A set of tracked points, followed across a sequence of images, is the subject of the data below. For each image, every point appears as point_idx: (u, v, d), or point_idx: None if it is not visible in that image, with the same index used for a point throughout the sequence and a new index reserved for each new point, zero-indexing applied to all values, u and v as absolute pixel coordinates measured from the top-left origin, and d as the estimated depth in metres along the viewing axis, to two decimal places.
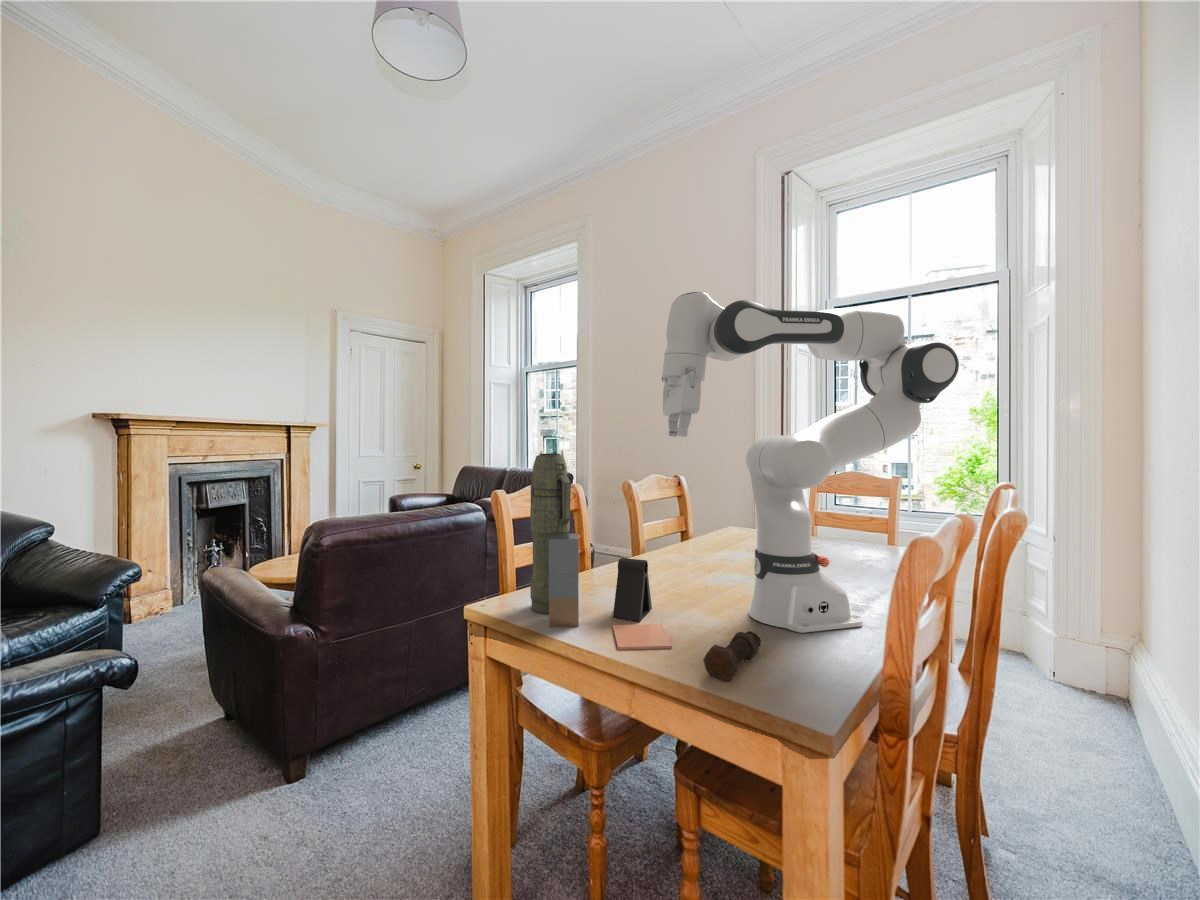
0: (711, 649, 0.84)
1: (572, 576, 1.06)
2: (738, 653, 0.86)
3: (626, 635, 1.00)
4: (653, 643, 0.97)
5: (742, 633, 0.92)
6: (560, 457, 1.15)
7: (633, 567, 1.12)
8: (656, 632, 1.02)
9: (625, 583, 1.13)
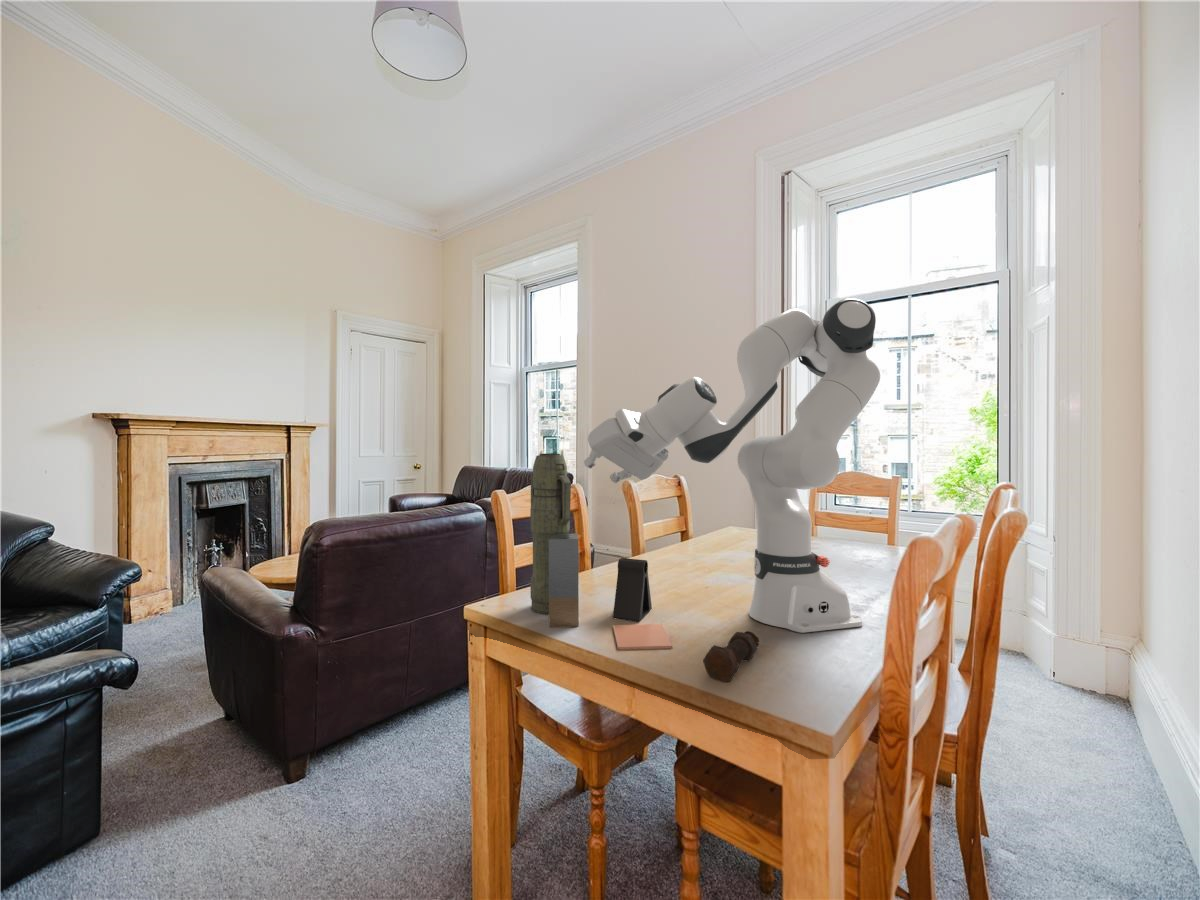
0: (711, 649, 0.84)
1: (572, 576, 1.06)
2: (737, 653, 0.86)
3: (626, 635, 1.00)
4: (653, 643, 0.97)
5: (740, 633, 0.92)
6: (560, 457, 1.15)
7: (633, 567, 1.12)
8: (656, 632, 1.02)
9: (625, 583, 1.13)
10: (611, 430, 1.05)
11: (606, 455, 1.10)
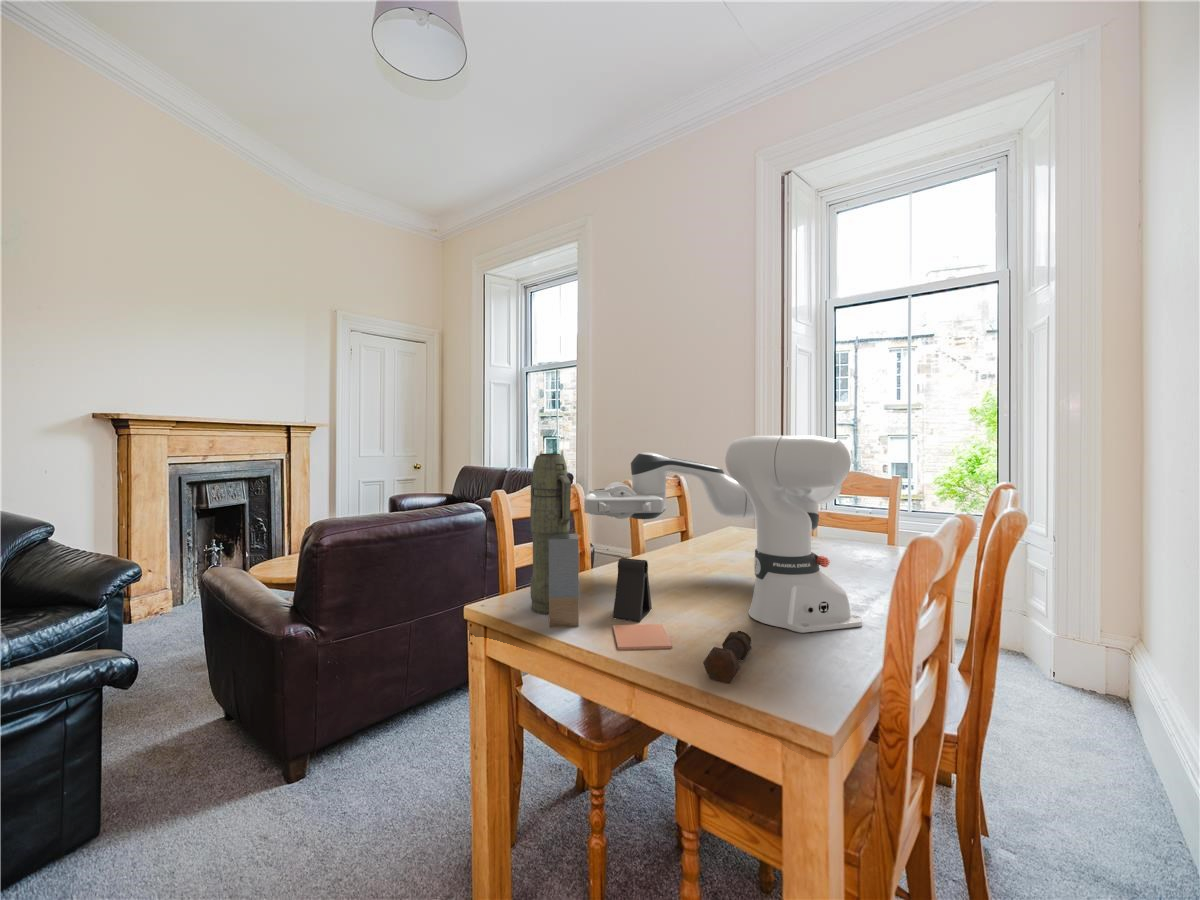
0: (712, 651, 0.83)
1: (572, 576, 1.06)
2: (736, 654, 0.86)
3: (626, 635, 1.00)
4: (653, 643, 0.97)
5: (735, 633, 0.92)
6: (560, 457, 1.15)
7: (633, 567, 1.12)
8: (656, 632, 1.02)
9: (625, 583, 1.13)
10: None
11: (603, 498, 1.31)
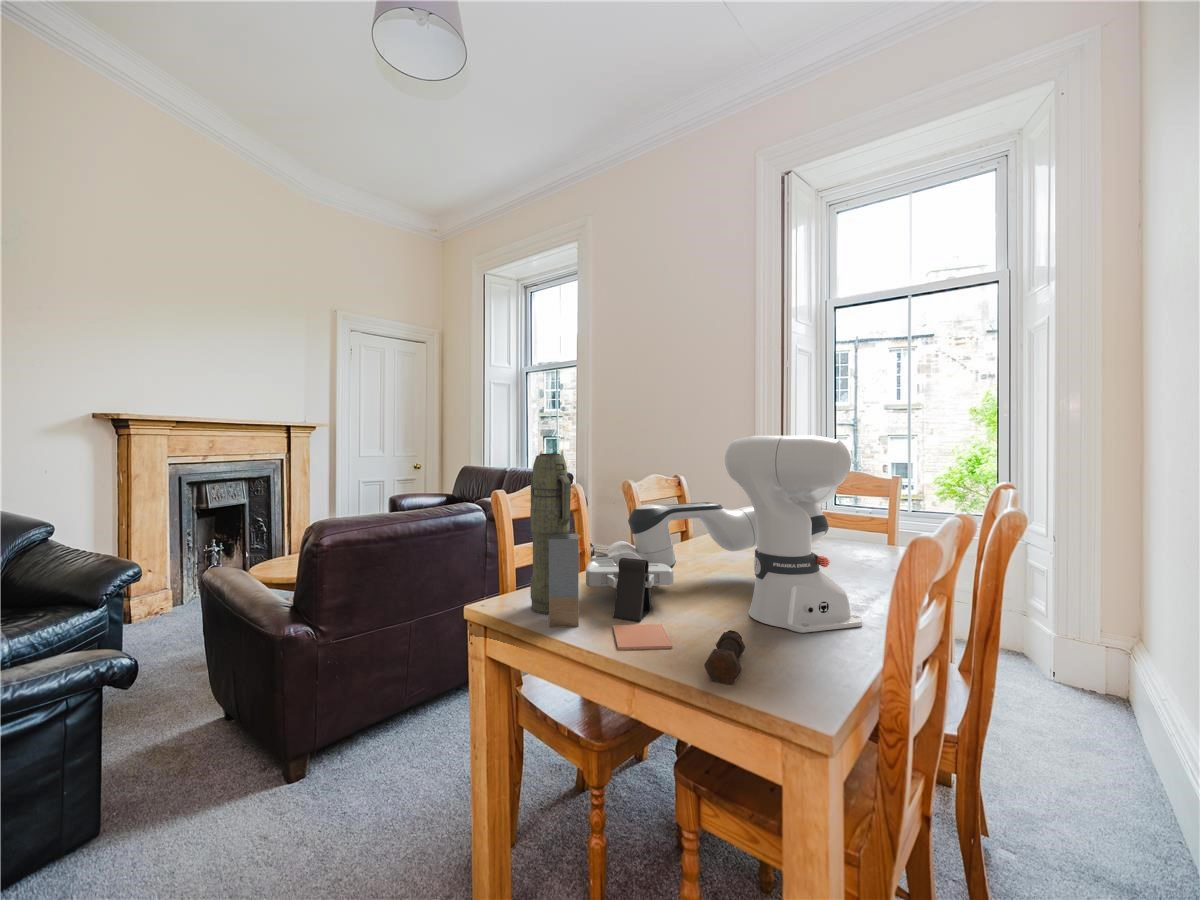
0: (713, 653, 0.83)
1: (572, 576, 1.06)
2: (734, 654, 0.86)
3: (626, 635, 1.00)
4: (653, 643, 0.97)
5: (728, 633, 0.92)
6: (560, 457, 1.15)
7: (634, 567, 1.12)
8: (656, 632, 1.02)
9: (626, 583, 1.13)
10: None
11: (607, 570, 1.19)
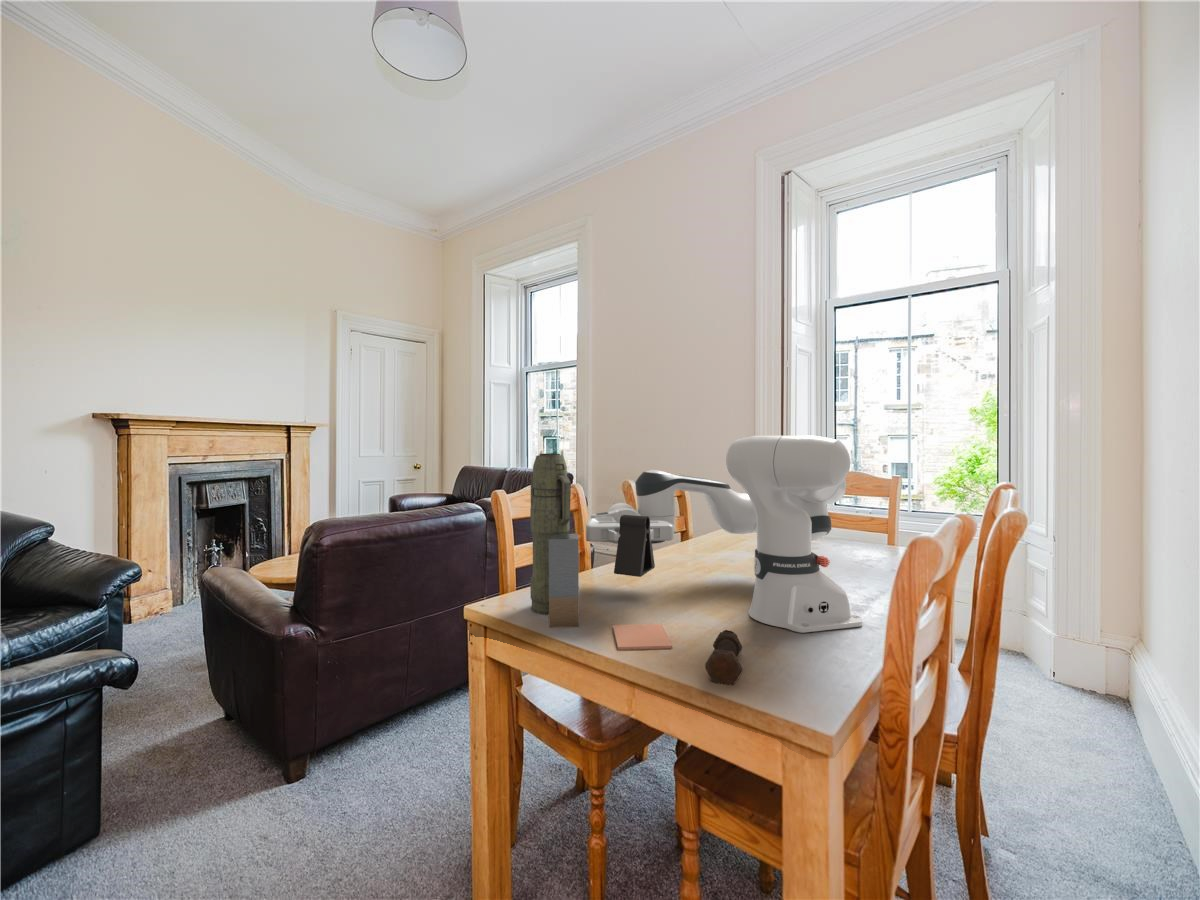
0: (714, 654, 0.82)
1: (572, 576, 1.06)
2: None
3: (626, 635, 1.00)
4: (653, 643, 0.97)
5: (725, 633, 0.92)
6: (560, 457, 1.15)
7: (635, 523, 1.12)
8: (656, 632, 1.02)
9: (627, 539, 1.12)
10: None
11: (607, 525, 1.18)
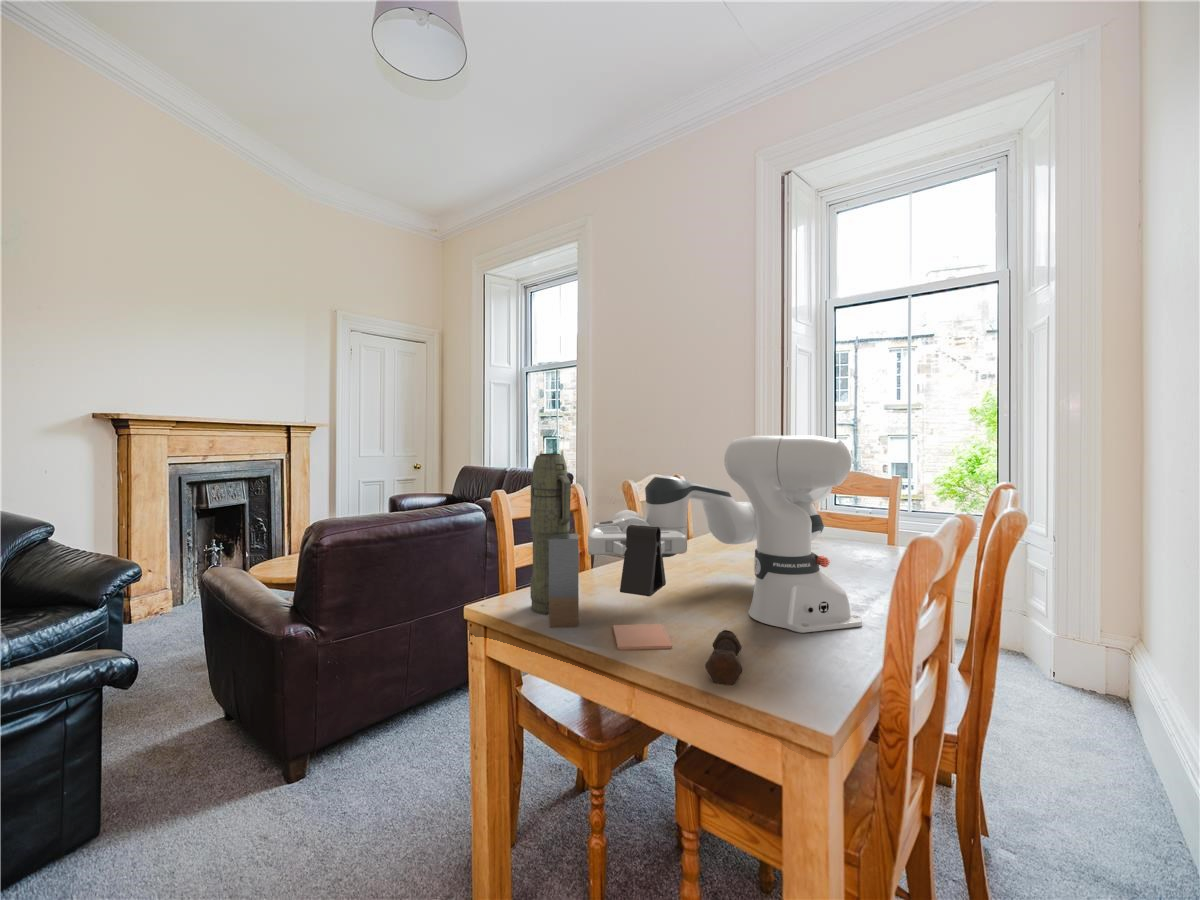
0: (714, 654, 0.82)
1: (572, 576, 1.06)
2: None
3: (626, 635, 1.00)
4: (653, 643, 0.97)
5: (724, 633, 0.92)
6: (560, 457, 1.15)
7: (644, 534, 0.98)
8: (656, 632, 1.02)
9: (635, 552, 0.99)
10: None
11: (612, 536, 1.05)
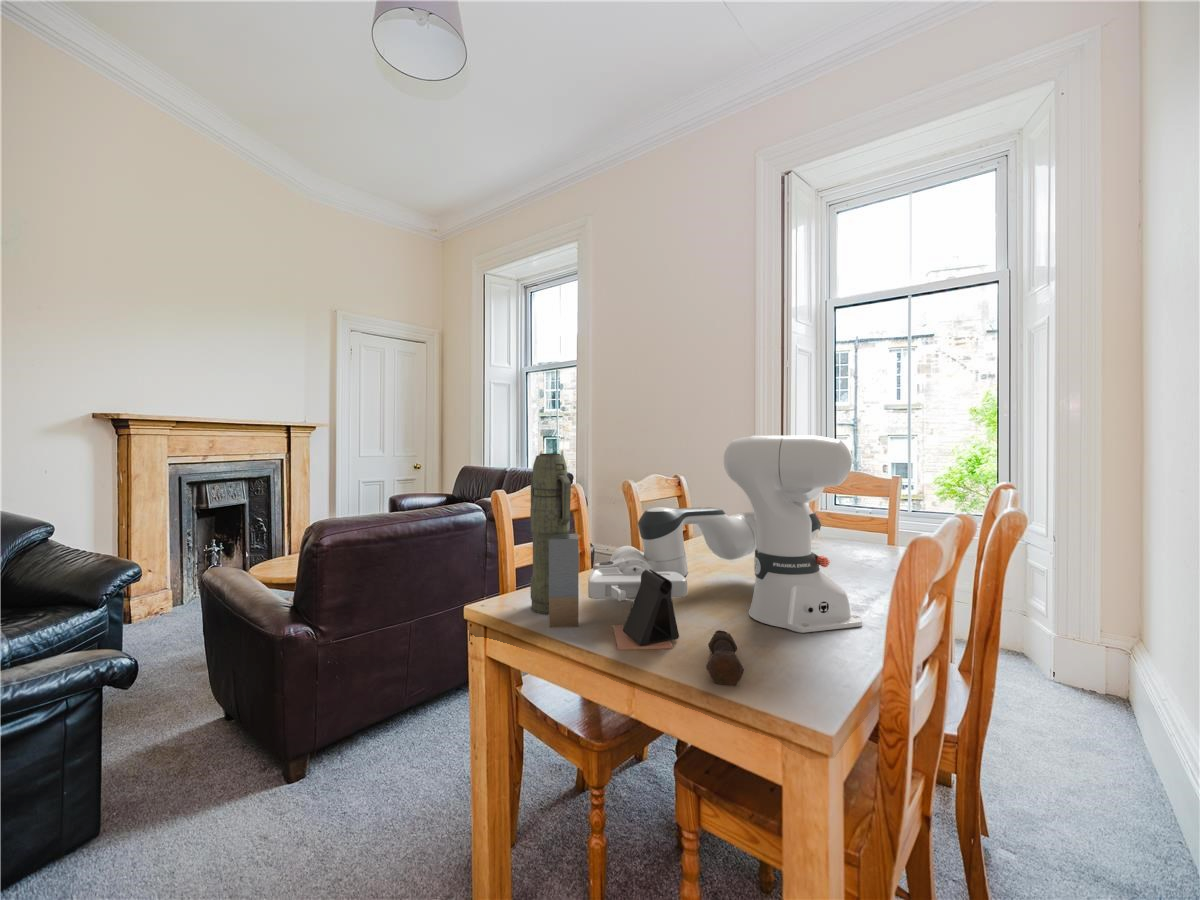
0: (716, 655, 0.82)
1: (572, 576, 1.06)
2: None
3: (626, 635, 1.00)
4: None
5: (720, 633, 0.92)
6: (560, 457, 1.15)
7: (651, 583, 0.97)
8: None
9: (642, 598, 0.98)
10: None
11: (612, 580, 1.05)
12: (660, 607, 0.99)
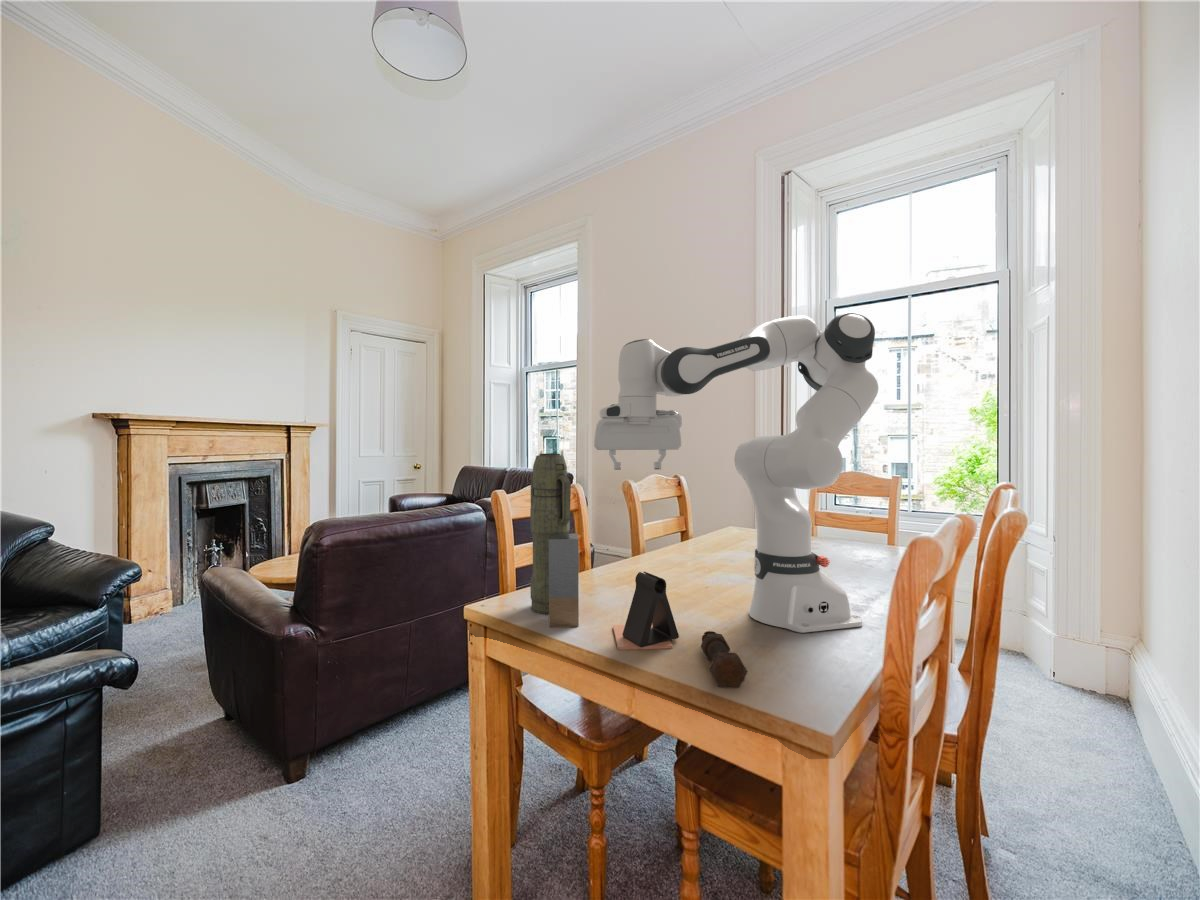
0: (720, 658, 0.81)
1: (572, 576, 1.06)
2: None
3: None
4: None
5: (713, 634, 0.91)
6: (560, 457, 1.15)
7: (646, 583, 0.98)
8: None
9: (639, 600, 0.99)
10: (597, 424, 1.19)
11: (615, 446, 1.19)
12: (657, 608, 1.00)
